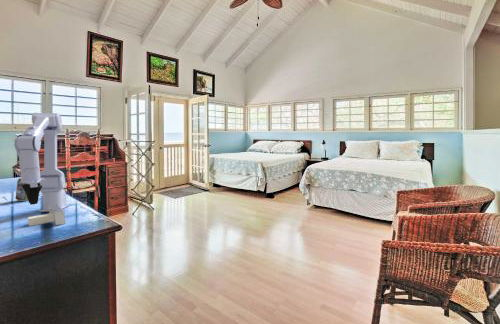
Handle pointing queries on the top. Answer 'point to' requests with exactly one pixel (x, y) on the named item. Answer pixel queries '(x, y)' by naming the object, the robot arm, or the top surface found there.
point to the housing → (57, 214)
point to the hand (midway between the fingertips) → (33, 203)
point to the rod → (40, 219)
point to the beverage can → (20, 191)
